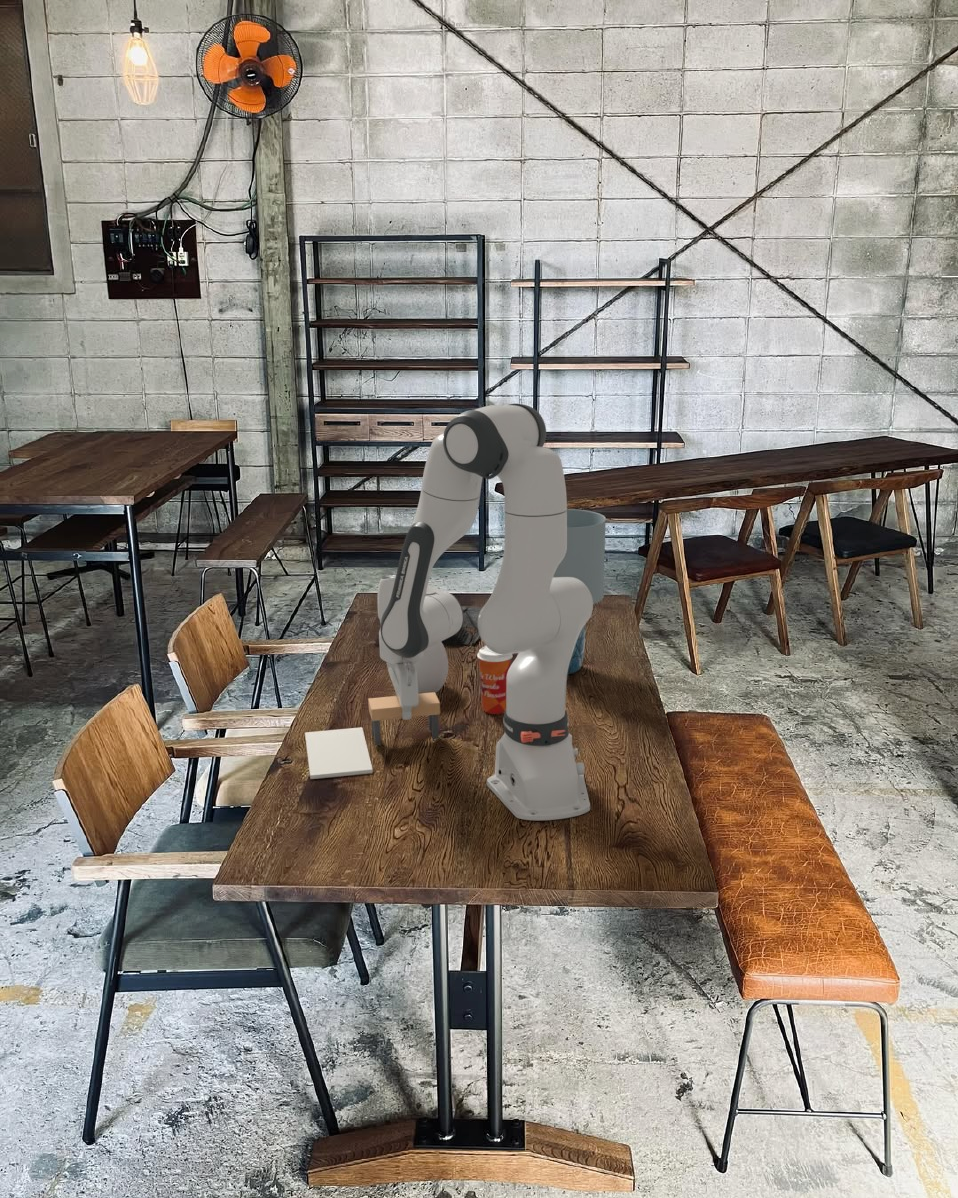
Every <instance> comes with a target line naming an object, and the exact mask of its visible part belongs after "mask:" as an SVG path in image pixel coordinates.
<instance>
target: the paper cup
mask: <svg viewBox="0 0 958 1198" xmlns="http://www.w3.org/2000/svg"><path fill="white" fill-rule="evenodd" d="M476 656H477V658H478V667H479V683H480V695H481V707H482V711H483V710H484V711H485V712H484V711H483V712H484V713H486V712H487V713H486V714H490V715H499V714H504V712H505V710H506V677H507V673H508V670H509V668H510V666H511V664H512V663H511V662H512V661H511V660H512V658H513V654H497V653H495V652H493V651H491V650H490V649H489V648H488V647H487V646H486V645H484V646H483V647H481V648H480V649H479V650H478V653H477V655H476Z"/></svg>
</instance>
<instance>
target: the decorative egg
mask: <svg viewBox="0 0 958 1198" xmlns="http://www.w3.org/2000/svg"><path fill="white" fill-rule="evenodd" d="M414 667H415V669H416V673H417V681H418V694H421V693H432V692H435V694H437V692H439V691H440V690H441V689H442V688H443V686H444V685H445V683H446V680H447V677H448V674H449V658H448V654H447V650H446V648H445V646H444V644H442V642H439V643H437V644H435V645H433V646H431V647H429V648H427V649H425V650H424V651H423V657H422V658H421V659H419V660H418V663H417V665H415V666H414Z"/></svg>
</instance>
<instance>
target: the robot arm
mask: <svg viewBox="0 0 958 1198" xmlns="http://www.w3.org/2000/svg"><path fill="white" fill-rule="evenodd" d="M546 427H547V426H546V423H545V421H544V418H543V417H542V415H541V414H540V412H539V411H537V410H536V409H535V408H533V407H532V406H529V405H526V404H523V403H509V404H504V405H503V404H499V405H495V404H493V405H492V404H491V405H486V406H483V407H482V406H481V407H479V408H475V409H471V410H466V411H464V412H463V411H462V412H461V413H460V414H458V415H456V416H455V417H454V418H452V419H451V420H450V421H449V422H448V423H447V425H446V427H445V428H444V432H443V433H441V434H439V435H437V436H436V437H435V438H434V439H433V441H432V442H431V445H430V447H429V448H430V449H429V451H428V454H427V457H426V461H425V464H424V469H423V474H422V475H423V476H422V481H421V490H420V494H419V495H420V496H419V499H418V500H419V501H418V505H417V508H416V511H415V514H414V517H413V520H412V523H411V524H410V527H409V529H408V531H407V533H406V536H405V537H404V542H403V543H402V544H403V545H402V548H401V552H400V557H399V560H398V561H399V562H398V564H397V570H396V571H393V572H392V571H391V572H389V573H386V574H385V575H383V576H382V577H381V578H380V580H379V583H378V587H377V588H378V589H377V617H378V619H379V623H380V627H379V630H378V641H379V643H378V644H379V657H380V659H381V660H382V661H384V662H386V666H387V672H388V675H389V678H390V680H391V683H392V686H393V689H394V691H395V696H397V697H398V700H399V703H400V706H401V707H402V717H403V718H402V720H404V721H408V720H411V719H412V717H411V711H412V707H417V706H418V703H419V695H418V681H417V673H416V669H415V667H414V666H415V665H417V663H418V660H419V659H421V658H422V657H423V651H424V650H425V649H427V648H429V647H431V646H433V645H435V644H437V643H439V642H441V641H443V640H445V639H447V638H449V637H451V636H453V635H454V634H456V633H457V632H459V630H460V629H461V627H462V624H463V610H462V607H461V606H462V605H461V603H460V601H459V599H458V598H457V596H455V595H453V594H452V593H451V592H450V591H446V590H441V589H439V588H437V587H435V586H432V585H431V584H429V581H430V577H431V573H432V569H433V567H434V565H435V564H436V562H437V561H438V560H439V558H440V557H441V556H442V555H443V554H444V553H445V552H446V551H447V550H448V549H449V548H450V547H451V546H452V545H453V544H455V543H457V541H459V540H460V539H461V538H463V537H464V536H465V535H466V534H467V533H468V532H469V531H470V530H471V529H472V528H473V525H474V523H475V520H476V517H477V515H478V511H479V507H480V506H479V505H480V498H481V489H482V482H483V478H484V479H487V480H492V479H494V478H495V477H498V478H499V480H500V481H501V483H502V486H503V494H504V505H503V506H504V507H503V508H504V509H503V510H504V542H503V543H504V549H503V556H502V563H501V565H500V569H499V574H498V577H497V580H496V583H495V586H494V588H493V591H492V593H491V595H490V597H489V598H488V600H487V601H486V602H485V604H484V605H483V607H482V609H481V611H480V613H479V616H478V631H479V634H480V637H479V638H480V640H482V642H483V644H484V646H487V647H488V648H489V649H490V650H491V651H493V652H495V653H497V654H512V655H513V654H517V655H516V658H515V659H514V660H513V662H512V663H510V668H509V670H508V673H507V677H506V710H505V712H504V713H503V714H504V715H503V718H502V719H503V720H502V721H503V722H502V723H503V730H504V733H503V734H502V736H501V737H500V739H499V740H497V742H496V743H495V744H496V745H495V746H496V747H495V760H494V761H495V762H494V763H495V764H494V774H493V775H491V776H489V777H488V778H487V779H486V786H487V787H488V789H489V790H491V791H492V793H493V794H494V795H495V796H496V797H497V798H498V799H499V800H500V801H501V802H502V803H503V804H504V806H505V807H506V808H507V809H508V810H509V811H510V812H511V814H513V815H514V816H515V817H516V819H521V820H523V821H524V820H526V821H554V820H563V819H569V818H574V817H578V816H581V815H583V814H586V813H588V812H589V811H591V803H590V799H589V798H590V797H589V794H588V789H587V786H586V782H585V781H586V779H585V777H584V775H585V769H586V767H585V763H584V762H582V761H581V762H576V756H578V755H579V749H578V748H576V747H574V746H573V736H572V734H570V731H569V729H570V728H569V725H570V724H569V718H568V711H567V709H566V700H567V699H566V698H567V697H566V695H567V680H568V674H567V673H568V668H569V664H570V660H571V657H572V653H573V650H574V647H575V644H576V641H577V639H578V636H579V634H580V632H581V630H582V628H583V626H584V625H585V626H586V623H587V622H588V621H589V619H590V618H591V617H592V614H593V610H594V604H593V600H592V596H591V593H590V591H589V589H588V588H587V586H586V585H585V584H584V583H583V582H582V581H580V580H579V579H577V578H574V577H554V578H553V576H554V573H555V571H556V569H557V567H558V565H559V564H560V563H561V561H562V560H563V558H564V557H565V554H566V551H567V509H568V502H567V501H568V499H567V486H566V481H565V474H564V468H563V463H562V460H561V458H560V457H561V456H559V455H558V453H557V452H555V451H554V450H553V449H550V448H547V447H544V445H545V442H546V438H547V428H546Z"/></svg>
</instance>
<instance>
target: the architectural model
mask: <svg viewBox="0 0 958 1198" xmlns="http://www.w3.org/2000/svg"><path fill="white" fill-rule="evenodd" d="M461 607H462V610H463V624H462V627H461V629H460V630H459V632H457V633H456V634H454V635H453V636H451V637H449V638H447V639H445V640H443V641H441V642H442V644H443V645H451V646H452V645H453V646H464V645H465V646H471V647H476V642H477V641H478V639H479V638H481V637H480V634H479V631H478V616H479V613H480V611H481V609H482V608H483V607H481V606H480V607H478V606H462V605H461ZM467 628H468V629H473V628H474V630H473V631H475V632H474V633H475V634H473V632H471V631H470V630H468V629H467ZM473 637H474V638H473ZM472 639H473V640H472Z"/></svg>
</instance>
